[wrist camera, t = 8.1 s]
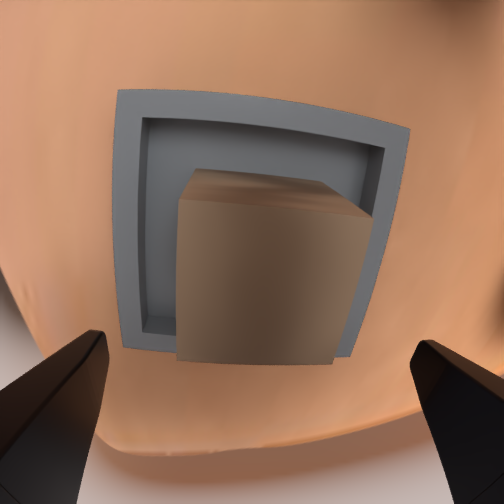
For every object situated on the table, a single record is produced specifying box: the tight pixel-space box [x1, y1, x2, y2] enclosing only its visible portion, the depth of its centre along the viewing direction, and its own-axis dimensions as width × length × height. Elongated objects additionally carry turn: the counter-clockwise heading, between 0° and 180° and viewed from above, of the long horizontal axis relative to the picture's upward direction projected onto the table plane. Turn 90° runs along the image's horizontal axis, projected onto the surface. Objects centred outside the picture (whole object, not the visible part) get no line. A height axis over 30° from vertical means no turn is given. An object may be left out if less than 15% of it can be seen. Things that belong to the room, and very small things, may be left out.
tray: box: [112, 89, 410, 357], centre depth 16 cm, size 13×13×2 cm
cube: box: [176, 168, 374, 365], centre depth 13 cm, size 6×6×6 cm
